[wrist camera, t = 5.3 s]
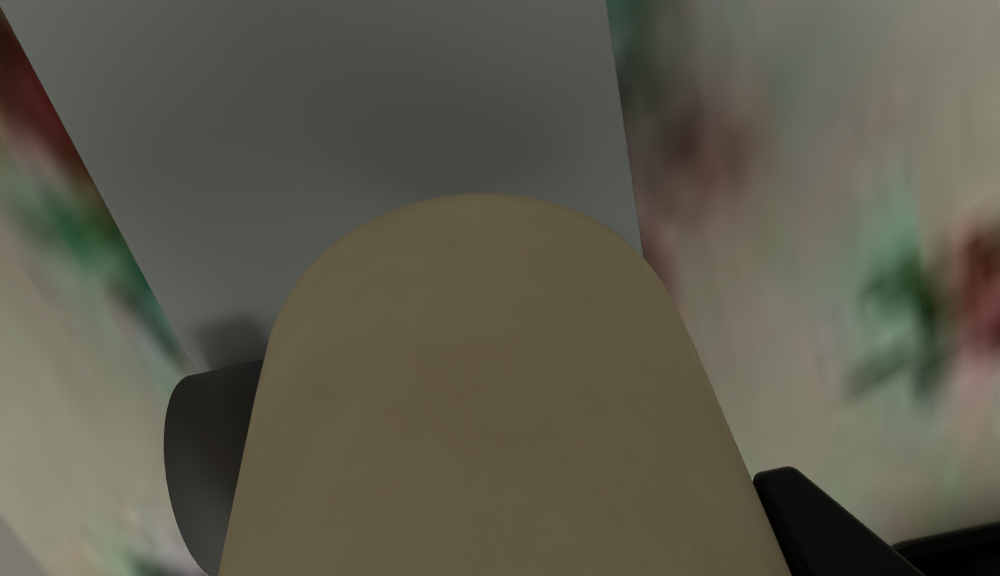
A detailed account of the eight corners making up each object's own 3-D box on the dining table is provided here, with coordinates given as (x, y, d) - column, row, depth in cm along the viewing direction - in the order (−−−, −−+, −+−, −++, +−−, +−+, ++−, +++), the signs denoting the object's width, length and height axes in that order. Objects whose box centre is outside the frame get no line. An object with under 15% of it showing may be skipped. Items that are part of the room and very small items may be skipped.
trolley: (603, 240, 20) (660, 402, 16) (652, 522, 25) (705, 701, 21) (189, 335, 20) (132, 518, 16) (323, 592, 26) (308, 782, 21)
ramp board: (554, -291, 15) (573, -286, 14) (668, 460, 25) (686, 515, 24) (-46, -137, 16) (-98, -113, 14) (302, 539, 26) (296, 599, 24)
